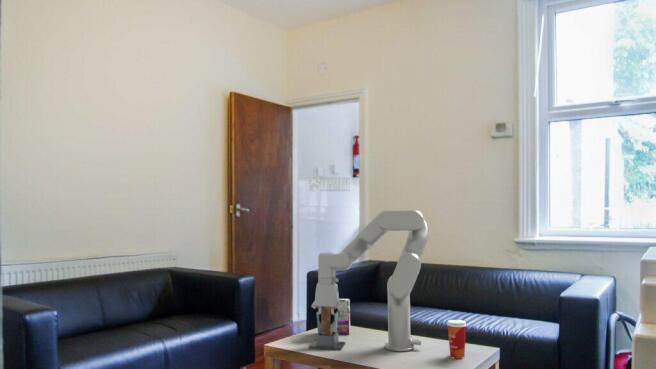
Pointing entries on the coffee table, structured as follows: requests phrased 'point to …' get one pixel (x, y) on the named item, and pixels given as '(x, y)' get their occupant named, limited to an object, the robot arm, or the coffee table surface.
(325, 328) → the walnut rail
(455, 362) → the coffee table surface
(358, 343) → the coffee table surface
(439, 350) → the coffee table surface
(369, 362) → the coffee table surface
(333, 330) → the green tapered container
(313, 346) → the cup bracket
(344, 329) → the candy bar box
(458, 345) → the paper cup
